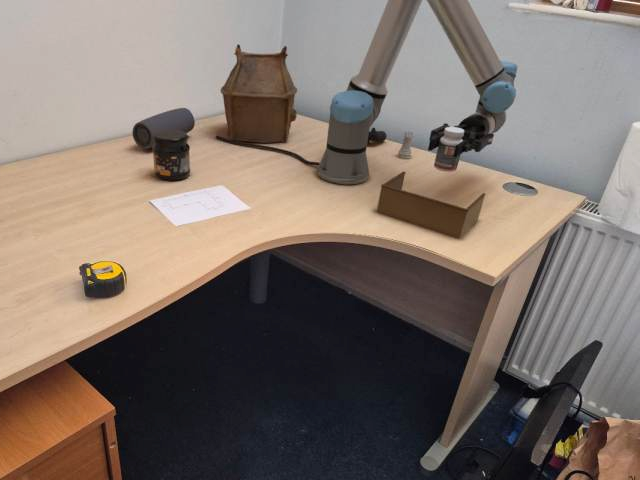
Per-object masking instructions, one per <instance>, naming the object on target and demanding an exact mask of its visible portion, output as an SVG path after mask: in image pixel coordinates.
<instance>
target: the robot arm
mask: <svg viewBox="0 0 640 480" xmlns="http://www.w3.org/2000/svg"><path fill="white" fill-rule="evenodd" d="M426 2H427V3H428V5H429V7H430V9H431V10H432V12H433V14H434V16H435V17H436V19H437V21H438V23H439V25H440V26H441V28H442V30H443V32H444V34H445V36H446V37H447V39H448V41H449V42H450V45H451V47H452V48H453V50H454V52H455V54H456V55H457V57H458V59H459V61H460V62H461V64H462V66H463V67H464V70H465V72H467V75H468V76H469V79H470V80H471V82H472V84H473V86H474V87H475V90H476V91H477V93H478V95H479V99H478V102H477V105H476V108H475V112H474V113H472V114H470V115H468V117H465V118H464V119H462V120H461V121H460V122H459V124H458V125H454V126H453V127H457V128H461V129H463V130H464V136H463V137H462V140H463V141H462V142H461V143H459V144H457V145H456V147H455V151H454V155H453V157H457V156H459V155H460V154H461V155H462V154H464V153H468V152H472V151H473V150H474V153H480V152H481V151H482V150H483V149H485V148H486V147H487V146H490V145H492V144H493V141H494V136H495V134H496V133H497V132H499V130H501V128H503V126H504V125H505V123H506V120H507V113H506V111H507V110H508V109H509V108H511V107H512V105H513V104H514V102H515V99H516V96H517V90H516V88H515V83H514V82H515V79H516V77H517V73H518V65H517V64H516V63H515V62H512V61H505V60H504V61H503V60H500V57H499V56H498V55H497V53H496V50H495V49H494V47H493V45H492V43H491V41H490V39H489V38H488V37H489V36H487V34H486V32H485V30H484V28H483V26H482V24H481V22H480V20H479V19H478V17H477V15H476V13H475V11H474V9H473V7H472V6H471V4H470V2H469V0H426ZM422 3H423V0H387V2H386V4H385V7H384V8H383V9H384V10H383V12H382V15H381V17H380V19H379V22H378V25H377V27H376V29H375V31H374V34H373V37H372V39H371V42H370V45H369V47H368V50H367V51H366V54H365V56H364V58H363V62H362V64H361V67H360V69H359V71H358V74H356V75H354V76H352V77H351V78H350V80H349V83H348V86H347V88H346V90H344V91H340V92H338V93H337V92H336V94H335V95H334V96H333V97H332V99H331V103H330V106H329V119H328V129H327V139H326V147H325V150H324V153H323V155H322V157H321V159H320V161H319V162H317V161H311V160H307V159H306V158H304V157H303V156H301V155H300V154H297V153H295V152H293V151H291V150H286V149H283V148H279V147H274V146H268V145H262V144H256V143H252V142H246V141H239V140H231V138H227V137H224V136H222V135H218V134H216V135H215V139H218V140H221V141H224V142H227V143H230V144H235V145H240V146H245V147H252V148H257V149H264V150H268V151H269V150H270V151H273V152H274V151H275V152H279V153H283V154H287V155H289V156H293V157H295V158H297V159H298V160H299V161H301V162H303V164H306V165H309V166H318V167H317V173H316V174H317V176H318V177H319V178H320V179H321V180H324V181H325V182H329V183H330V184H331V183H332V184H336V185H347V186H348V185H349V186H351V185H353V186H354V185H360V184H362V183H365V182H366V181H368V179H369V175H370V172H369V171H370V169H369V164H368V157H367V148H368V143H367V141H368V135H369V132H370V128H371V127H372V125H373V124H374V123H375V122H376V120H377V119H378V118H379V116H380V113H381V110H382V106H383V104H384V101H385V100H386V97H387V95H388V93H389V92H388V88H387V82H388V80H389V77H390V75H391V73H392V70H393V68H394V67H395V64H396V61H397V59H398V57H399V55H400V52H401V50H402V48H403V46H404V43H405V41H406V39H407V37H408V34H409V32H410V30H411V28H412V25H413V24H414V23H413V22H414V20H415V18H416V17H417V14H418V11H419V9H420V7H421V5H422ZM447 127H451V126H450V124H448V123H447V122H445V123H443V125H441V126H439V127H435V128H434V129H432V130H431V131H430V134H429V139H428V140H429V144H428V148H427V151H429V152H431V151H433V150H435V149H438V146H439V142H440V139H441V138H442V137H443V136H444V130H445V128H447ZM461 155H460V156H461Z"/></svg>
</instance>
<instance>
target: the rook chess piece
mask: <svg viewBox="0 0 640 480" xmlns="http://www.w3.org/2000/svg"><path fill="white" fill-rule="evenodd" d="M413 134H414V132H411V131H405V132H404V133H403V135H402V136H403V139H402V144H401V147H400V149H399V150H398V153H397V156H398V157H399V158H401V159H406V160H407V159H410V158H411V157H412V149H411V143H412V139H413V137H414V135H413Z"/></svg>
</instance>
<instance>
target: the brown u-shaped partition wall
mask: <svg viewBox="0 0 640 480" xmlns="http://www.w3.org/2000/svg"><path fill="white" fill-rule="evenodd" d="M405 175H406V171H401V172H400V173H398V174H397V175H395V176H393V177H392V178H390V179H389V180H387V181H385V182H384V183H382V184H380V185H381V186H380V191H379V198H378V203H377V209H376V213H378V214H383V215H386V216H388V217H392V218H395V219H398V220H401V221H405V222H408V223H410V224H414V225H417V226H419V227H423V228H426V229H429V230H432V231H434V232H438V233H442V234H445V235H447V236H451V237H454V238H457V239H461V238H462V237H463V236H464V235H465V234H466V233H467V232H468V231H469V230H470V229H471V228H472V227H473V226H474V225H475V224H476V223H477V222H478V220H479V218H480V217H479V216H480V214H481V210H482V207H483V204H484V200H485V197H486V193H484V192H483V193H481V194H480V195H479V196H478V197H477V198H476V199H475V200H474V201H473V202H472V203H470V204H469V205H468V206H467V207H466V208H465V207H463V206H459V205H456V204H451V203H448V202H445V201H441V200H438V199H435V198H432V197H431V198H430V197H427V196H425V195H421V194H417V193H414V192H411V191H407V190H404V189H403V185H404V181H405Z"/></svg>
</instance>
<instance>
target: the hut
mask: <svg viewBox="0 0 640 480" xmlns="http://www.w3.org/2000/svg"><path fill="white" fill-rule="evenodd" d="M287 49H288V47H287V45H284V46H283V47H282V49H281V51H280V52H275V53H256V52H255V53H254V52H246V51H242V49H241V45H240V44H239V43H238V44H236V47H235V51H234V53H233V54H234V55H235V57H236V63H235V65H234V66H233V68H232V69H231V71H230V73H229V74H228V77H227V79H226V80H225V83H224V84H223V86H222V87H221V88H220V94H222V98H223V107H224V114H225V115H224V116H225V120H226V125H227V131H228V135H229V137H230V140H234V141H239V142H247V143H260V144H261V143H263V144H264V143H267V144H268V143H276V142H278V143H280V142H281V143H287V142H288V138H289V134H290V130H291V127H292V122H295V121H296V119H297V117H298V116H297V115H298V112H297V109H295V108H294V107H295V106H294V105H295V97H296V94H297V93H298V88H297V87H296V86H295V84H294V81H293V78H292V77H291V74H290V72H289V69H288V66H287V64H286V59H287V57H289V54H288V53H287V51H288V50H287Z"/></svg>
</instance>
